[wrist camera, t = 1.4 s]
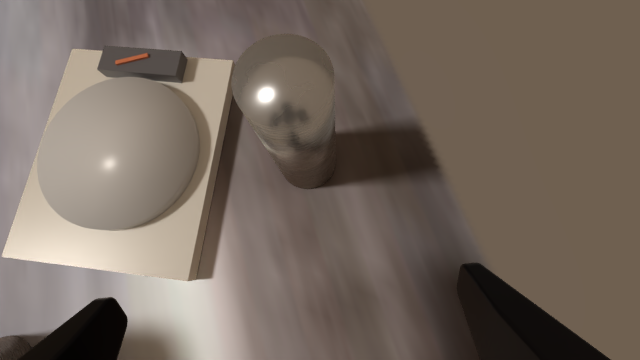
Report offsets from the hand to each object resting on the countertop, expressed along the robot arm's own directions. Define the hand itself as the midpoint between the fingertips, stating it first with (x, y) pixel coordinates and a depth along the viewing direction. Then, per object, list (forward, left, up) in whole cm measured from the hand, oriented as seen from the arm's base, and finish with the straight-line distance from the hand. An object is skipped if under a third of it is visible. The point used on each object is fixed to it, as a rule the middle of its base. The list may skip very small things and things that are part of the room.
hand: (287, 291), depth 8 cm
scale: (+6, +15, -13) cm, 21 cm away
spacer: (+7, +2, -13) cm, 15 cm away
